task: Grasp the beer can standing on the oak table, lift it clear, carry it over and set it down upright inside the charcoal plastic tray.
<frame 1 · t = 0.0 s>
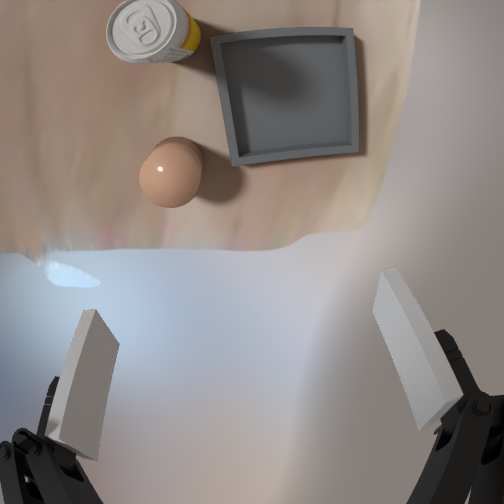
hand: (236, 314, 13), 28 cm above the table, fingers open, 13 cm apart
light brown rounded lump: (177, 162, 37), on the table
tray: (287, 91, 32), on the table
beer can: (175, 38, 27), on the table
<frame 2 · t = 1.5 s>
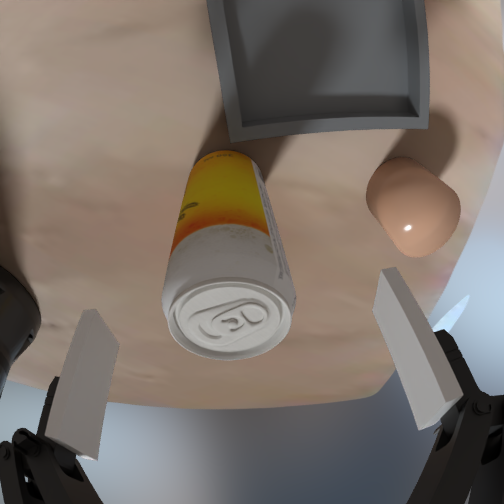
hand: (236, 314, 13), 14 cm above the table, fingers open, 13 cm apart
light brown rounded lump: (397, 190, 26), on the table
tray: (321, 28, 17), on the table
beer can: (225, 180, 25), on the table
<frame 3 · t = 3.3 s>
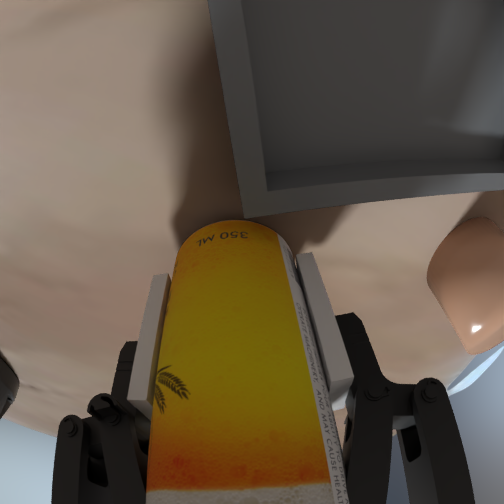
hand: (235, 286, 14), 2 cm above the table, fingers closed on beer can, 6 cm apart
light brown rounded lump: (464, 258, 18), on the table
tray: (398, 15, 9), on the table
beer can: (234, 258, 16), on the table, touching gripper
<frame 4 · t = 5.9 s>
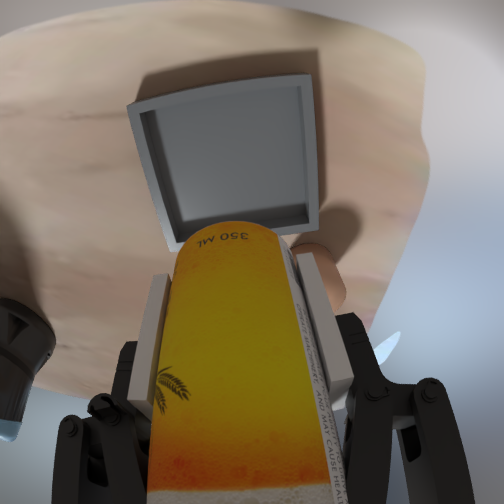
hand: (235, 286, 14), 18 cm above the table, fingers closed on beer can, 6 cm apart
light brown rounded lump: (305, 265, 38), on the table
tray: (230, 160, 29), on the table
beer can: (234, 259, 16), point 16 cm above the table, touching gripper
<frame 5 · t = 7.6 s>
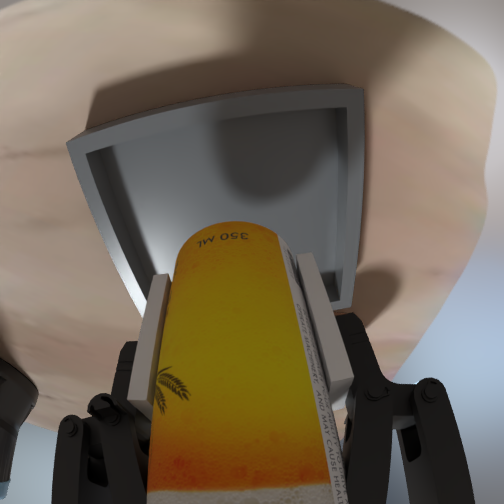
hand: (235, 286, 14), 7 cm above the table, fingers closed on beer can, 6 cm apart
tray: (231, 216, 20), on the table
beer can: (234, 259, 16), point 5 cm above the table, touching gripper
when the fingers open (4 cm above the table, at t = 8.9 s): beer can drops 2 cm, resting on tray.
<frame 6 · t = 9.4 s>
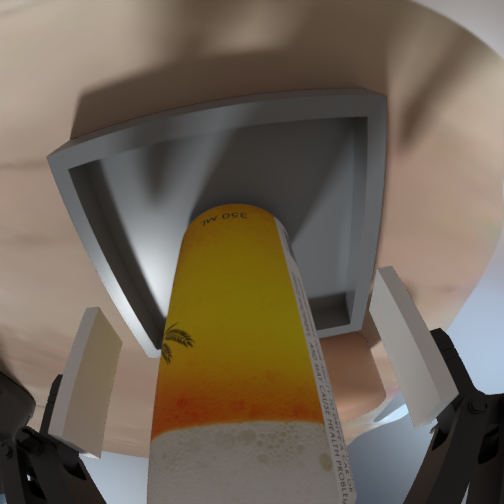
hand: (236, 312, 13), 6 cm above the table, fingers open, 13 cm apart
light brown rounded lump: (333, 354, 27), on the table
tray: (233, 235, 18), on the table
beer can: (235, 242, 18), point 1 cm above the table, touching tray
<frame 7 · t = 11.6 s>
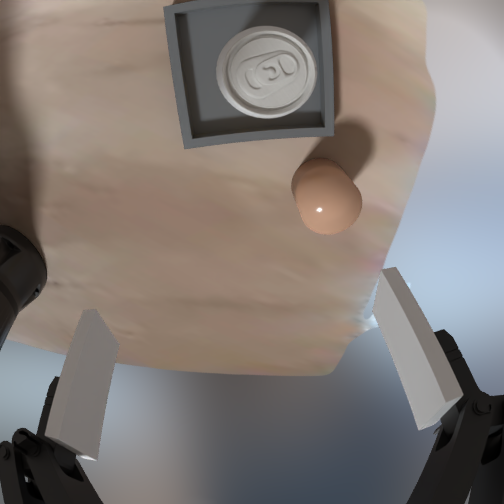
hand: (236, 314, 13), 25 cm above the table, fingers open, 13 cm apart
light brown rounded lump: (318, 184, 36), on the table
tray: (252, 65, 27), on the table
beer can: (253, 66, 27), point 1 cm above the table, touching tray
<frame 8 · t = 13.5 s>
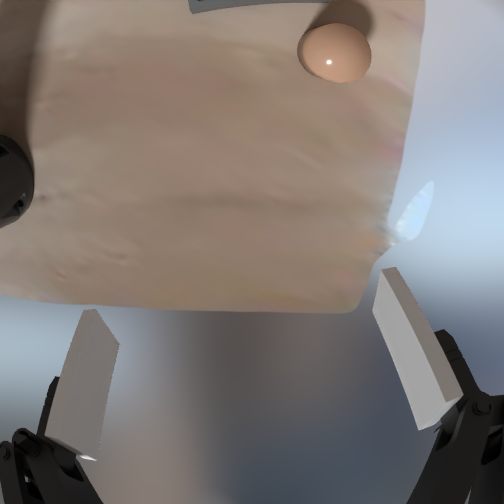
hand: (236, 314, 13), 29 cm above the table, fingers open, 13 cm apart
light brown rounded lump: (324, 52, 30), on the table
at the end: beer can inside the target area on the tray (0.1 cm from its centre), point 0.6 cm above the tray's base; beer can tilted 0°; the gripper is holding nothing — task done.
